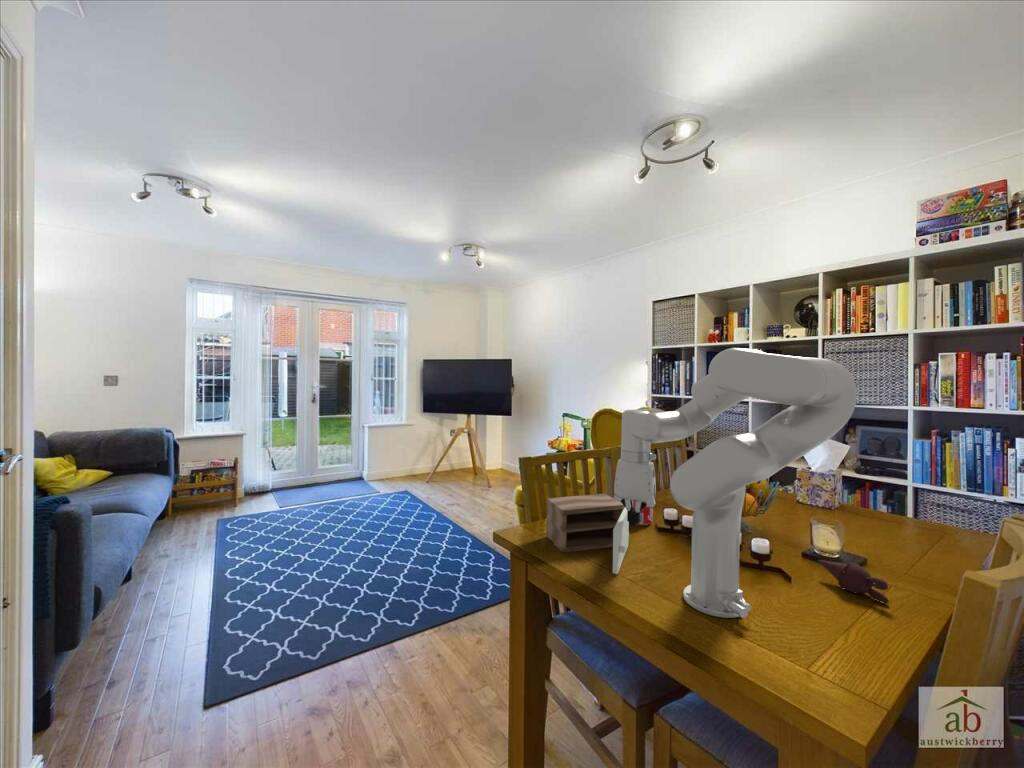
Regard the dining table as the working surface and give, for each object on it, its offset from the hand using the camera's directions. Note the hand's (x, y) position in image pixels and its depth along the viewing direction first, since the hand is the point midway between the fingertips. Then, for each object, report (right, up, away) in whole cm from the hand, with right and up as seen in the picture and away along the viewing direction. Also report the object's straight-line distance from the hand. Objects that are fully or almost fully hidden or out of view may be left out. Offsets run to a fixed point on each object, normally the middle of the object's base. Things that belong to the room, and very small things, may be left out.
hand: (633, 524), depth 112 cm
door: (-2, -10, +2) cm, 10 cm away
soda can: (+12, -10, +31) cm, 35 cm away
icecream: (+47, -11, -13) cm, 51 cm away
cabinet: (-10, -10, +15) cm, 21 cm away
